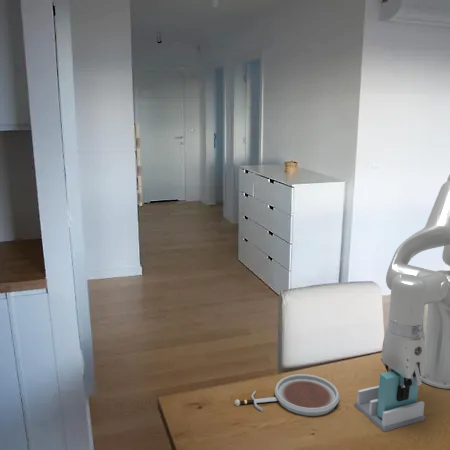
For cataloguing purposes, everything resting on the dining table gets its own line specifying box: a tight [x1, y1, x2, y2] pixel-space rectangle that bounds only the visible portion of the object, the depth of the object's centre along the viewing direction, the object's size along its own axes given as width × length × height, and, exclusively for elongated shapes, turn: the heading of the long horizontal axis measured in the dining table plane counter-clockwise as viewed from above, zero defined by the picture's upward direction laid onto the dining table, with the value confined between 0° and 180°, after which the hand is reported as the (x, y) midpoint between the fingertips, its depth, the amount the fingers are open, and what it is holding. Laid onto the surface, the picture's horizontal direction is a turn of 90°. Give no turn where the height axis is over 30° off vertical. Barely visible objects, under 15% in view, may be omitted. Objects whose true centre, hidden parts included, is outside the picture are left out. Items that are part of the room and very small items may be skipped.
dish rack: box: [354, 385, 426, 433], centre depth 119 cm, size 13×11×4 cm
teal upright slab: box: [377, 371, 419, 418], centre depth 116 cm, size 10×2×11 cm, turn 112°
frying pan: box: [234, 373, 340, 417], centre depth 125 cm, size 17×3×28 cm
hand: (397, 395), depth 116 cm, fingers closed on teal upright slab, 2 cm apart
